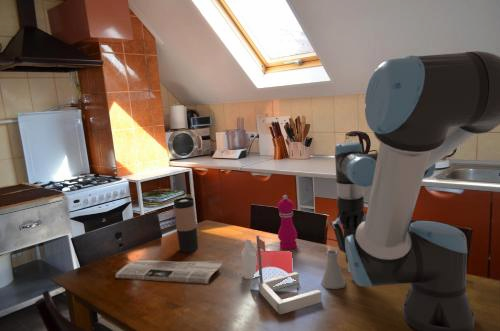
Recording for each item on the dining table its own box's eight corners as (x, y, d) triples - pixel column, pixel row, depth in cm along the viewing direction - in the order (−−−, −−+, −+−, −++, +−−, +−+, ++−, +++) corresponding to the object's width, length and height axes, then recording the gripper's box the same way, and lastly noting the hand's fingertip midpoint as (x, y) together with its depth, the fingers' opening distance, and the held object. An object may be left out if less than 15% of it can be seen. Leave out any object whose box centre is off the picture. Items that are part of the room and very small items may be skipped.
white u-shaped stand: (321, 302, 101) (318, 242, 98) (279, 314, 96) (275, 252, 94) (296, 281, 114) (293, 227, 111) (258, 291, 109) (254, 235, 107)
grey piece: (253, 243, 115) (236, 242, 117) (256, 280, 116) (239, 278, 118) (259, 236, 120) (243, 235, 122) (262, 271, 122) (246, 270, 124)
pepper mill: (276, 249, 139) (273, 197, 136) (280, 242, 146) (277, 192, 143) (296, 250, 137) (292, 197, 134) (299, 243, 144) (296, 192, 141)
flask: (344, 278, 113) (342, 246, 112) (348, 289, 106) (346, 256, 105) (320, 278, 114) (318, 247, 113) (322, 290, 107) (320, 257, 105)
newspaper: (115, 279, 126) (114, 269, 126) (136, 263, 138) (135, 254, 138) (212, 285, 116) (211, 274, 116) (226, 268, 128) (225, 258, 128)
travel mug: (177, 248, 149) (171, 199, 146) (195, 243, 152) (190, 196, 149) (182, 254, 142) (176, 203, 139) (201, 249, 145) (195, 199, 142)
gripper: (360, 190, 114) (363, 262, 118) (323, 196, 110) (327, 272, 114) (377, 194, 107) (379, 272, 111) (338, 202, 103) (341, 282, 107)
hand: (353, 272), depth 112 cm, fingers closed
